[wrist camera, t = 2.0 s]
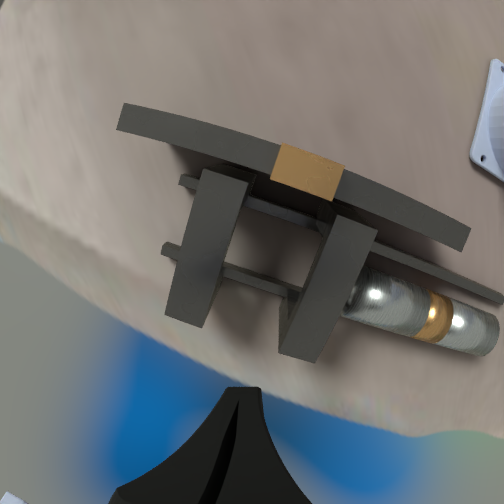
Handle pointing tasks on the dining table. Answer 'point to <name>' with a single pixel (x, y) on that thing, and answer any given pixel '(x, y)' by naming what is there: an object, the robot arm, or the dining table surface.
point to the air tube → (420, 313)
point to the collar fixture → (326, 221)
